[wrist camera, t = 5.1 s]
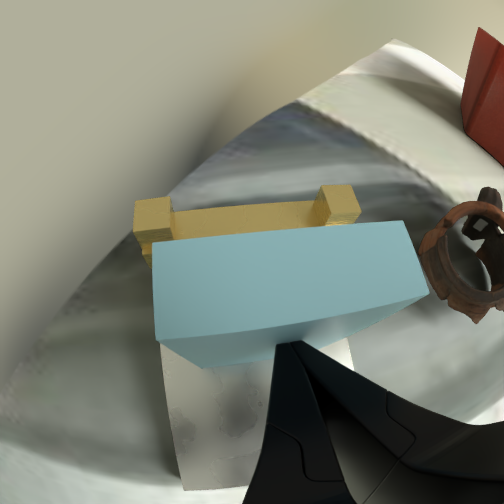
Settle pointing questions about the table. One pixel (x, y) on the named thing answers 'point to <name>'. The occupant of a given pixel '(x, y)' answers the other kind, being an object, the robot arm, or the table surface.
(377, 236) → the clip bar
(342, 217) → the block holder base
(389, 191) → the table surface
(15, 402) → the table surface
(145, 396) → the table surface
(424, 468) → the robot arm
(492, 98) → the plant pot
